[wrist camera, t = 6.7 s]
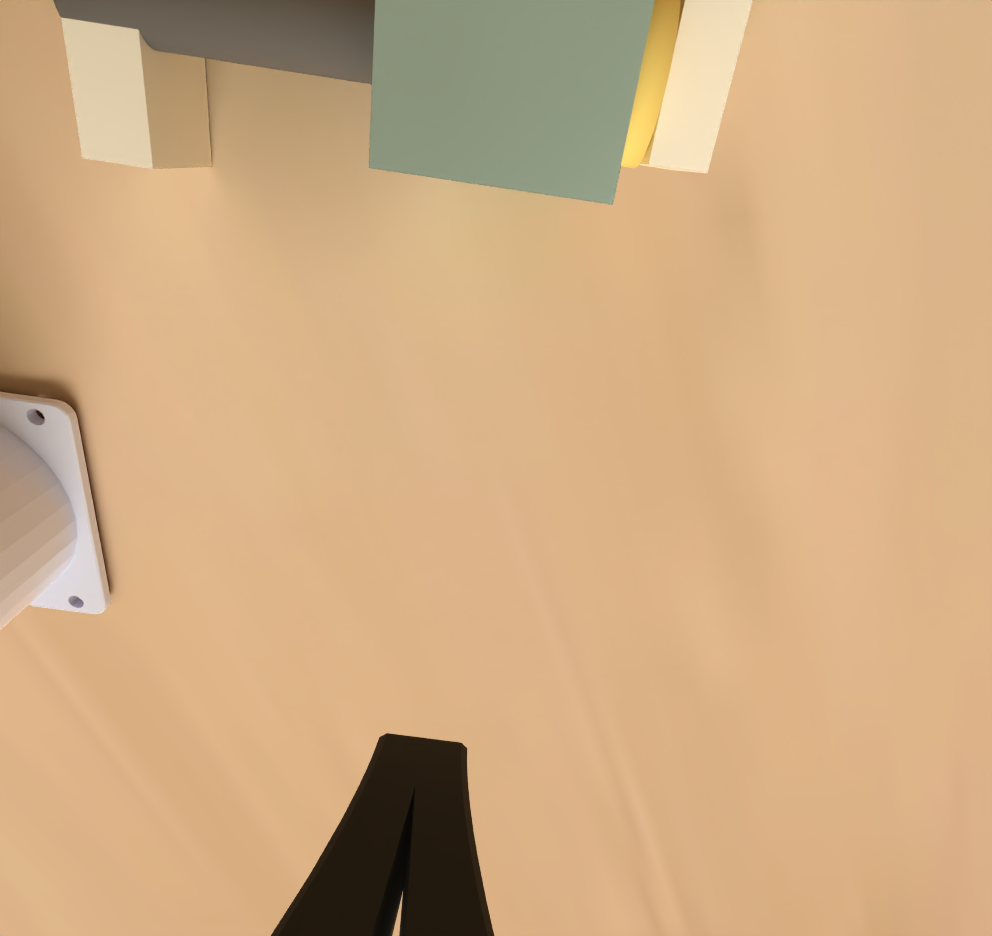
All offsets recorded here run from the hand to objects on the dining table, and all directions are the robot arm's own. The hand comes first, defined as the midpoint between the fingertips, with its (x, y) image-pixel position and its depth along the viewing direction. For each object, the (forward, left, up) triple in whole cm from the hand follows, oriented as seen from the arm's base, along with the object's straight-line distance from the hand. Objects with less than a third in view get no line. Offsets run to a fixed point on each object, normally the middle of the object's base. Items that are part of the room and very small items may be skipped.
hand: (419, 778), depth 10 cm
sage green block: (0, +11, -10) cm, 15 cm away
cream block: (+3, +11, -10) cm, 16 cm away
